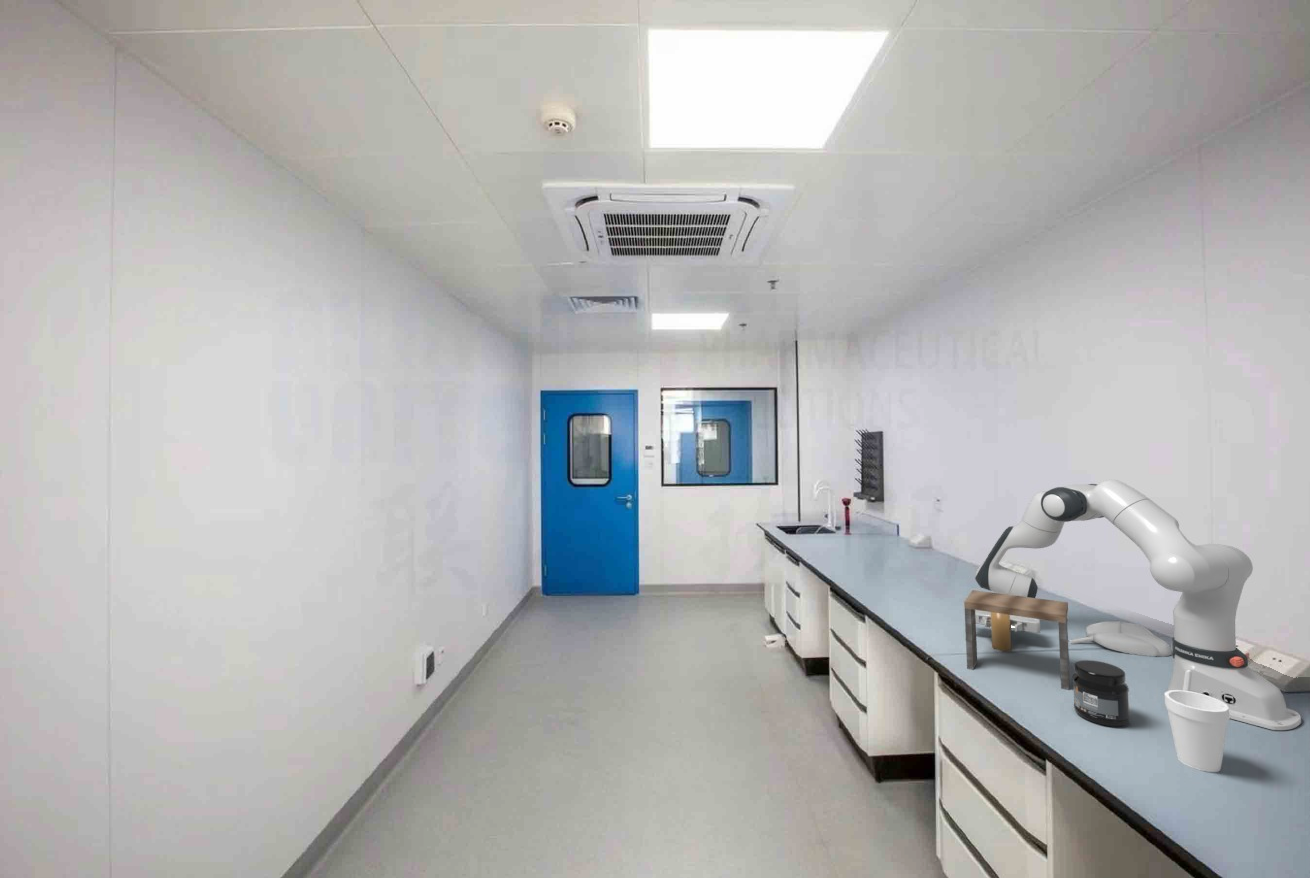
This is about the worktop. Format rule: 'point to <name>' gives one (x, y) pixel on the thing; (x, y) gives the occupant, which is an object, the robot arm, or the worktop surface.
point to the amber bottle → (1000, 631)
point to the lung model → (1125, 638)
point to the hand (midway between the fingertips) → (1000, 627)
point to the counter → (1017, 608)
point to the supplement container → (1101, 693)
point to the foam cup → (1198, 728)
